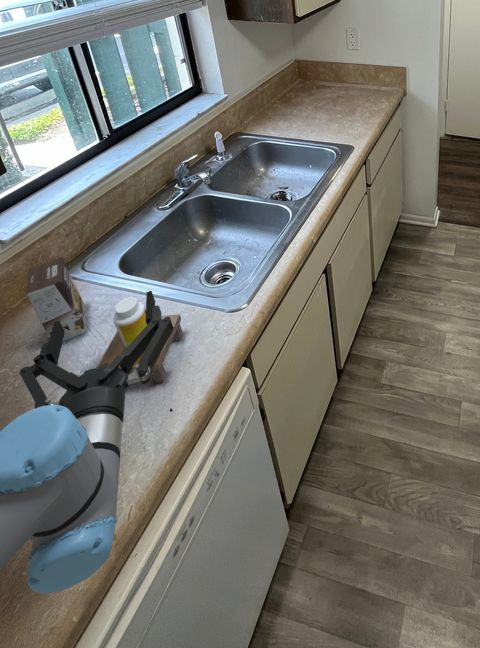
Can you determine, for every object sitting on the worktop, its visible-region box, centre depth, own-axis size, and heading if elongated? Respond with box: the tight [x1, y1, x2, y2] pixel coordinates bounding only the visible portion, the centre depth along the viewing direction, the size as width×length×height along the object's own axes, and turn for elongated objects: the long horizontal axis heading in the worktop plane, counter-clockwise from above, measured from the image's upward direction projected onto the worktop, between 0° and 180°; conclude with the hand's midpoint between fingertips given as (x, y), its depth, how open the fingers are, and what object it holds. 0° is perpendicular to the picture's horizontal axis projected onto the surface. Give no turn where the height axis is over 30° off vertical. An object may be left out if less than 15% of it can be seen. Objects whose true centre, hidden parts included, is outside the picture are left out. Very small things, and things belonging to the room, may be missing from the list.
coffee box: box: [25, 256, 86, 342], centre depth 99 cm, size 9×6×16 cm
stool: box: [96, 313, 184, 384], centre depth 93 cm, size 12×12×6 cm
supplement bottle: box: [112, 296, 147, 348], centre depth 90 cm, size 6×6×10 cm
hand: (106, 311), depth 76 cm, fingers open, 13 cm apart
